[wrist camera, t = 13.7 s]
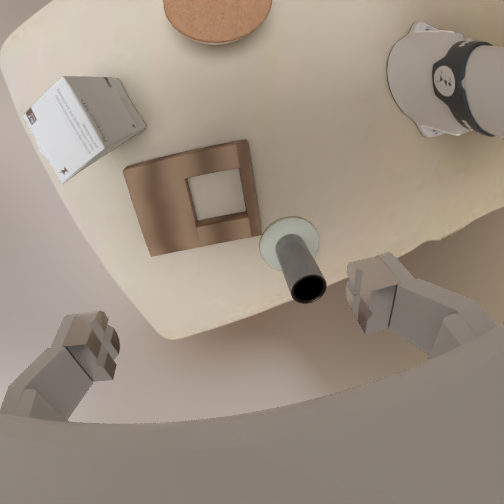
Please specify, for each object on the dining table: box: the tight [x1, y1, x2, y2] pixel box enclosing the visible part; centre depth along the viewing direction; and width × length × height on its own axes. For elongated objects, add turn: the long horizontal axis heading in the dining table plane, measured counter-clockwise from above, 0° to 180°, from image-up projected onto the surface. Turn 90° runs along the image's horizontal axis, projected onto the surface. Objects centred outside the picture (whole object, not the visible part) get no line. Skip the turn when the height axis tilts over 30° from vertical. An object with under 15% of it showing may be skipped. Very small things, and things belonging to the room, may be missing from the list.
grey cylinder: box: [275, 234, 327, 304], centre depth 40 cm, size 4×4×10 cm
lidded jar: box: [163, 0, 272, 45], centre depth 23 cm, size 11×11×9 cm
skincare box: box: [23, 76, 146, 184], centre depth 26 cm, size 8×6×15 cm
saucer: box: [260, 217, 319, 271], centre depth 45 cm, size 9×9×1 cm
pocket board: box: [123, 140, 262, 257], centre depth 39 cm, size 16×13×2 cm
